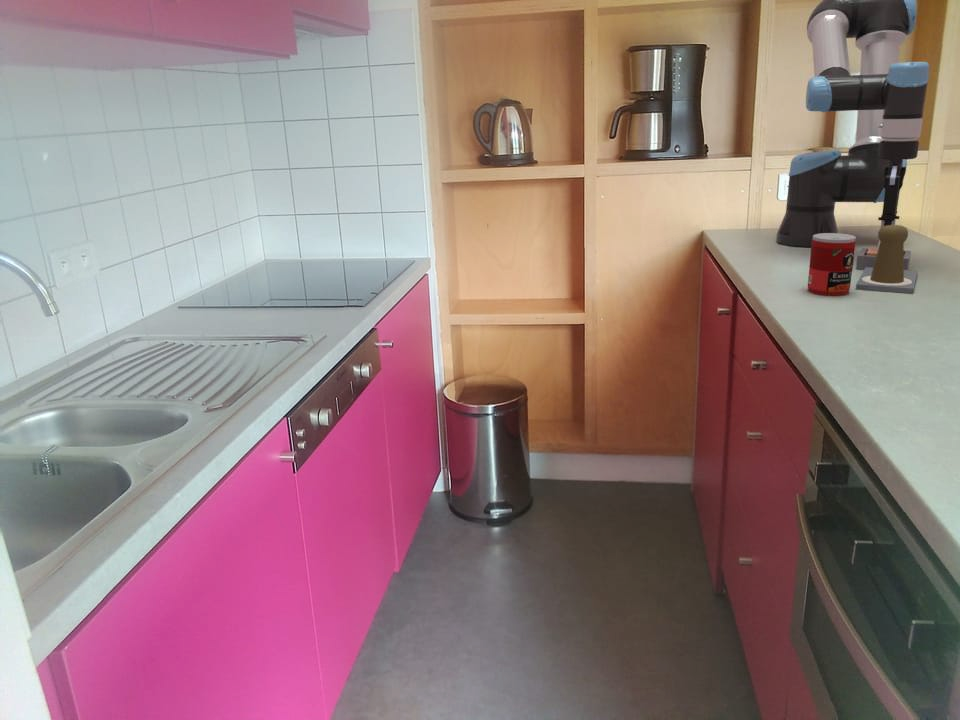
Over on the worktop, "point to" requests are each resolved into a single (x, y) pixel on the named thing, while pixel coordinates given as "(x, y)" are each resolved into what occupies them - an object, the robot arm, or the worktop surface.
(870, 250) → the button
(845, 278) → the canned food
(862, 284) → the slate board
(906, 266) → the button housing
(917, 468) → the worktop surface
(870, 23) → the robot arm
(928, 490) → the worktop surface
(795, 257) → the worktop surface
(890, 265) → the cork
